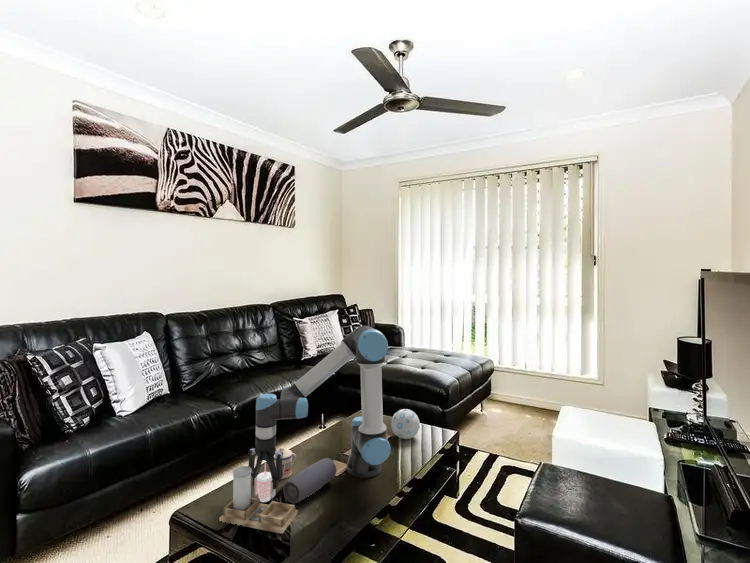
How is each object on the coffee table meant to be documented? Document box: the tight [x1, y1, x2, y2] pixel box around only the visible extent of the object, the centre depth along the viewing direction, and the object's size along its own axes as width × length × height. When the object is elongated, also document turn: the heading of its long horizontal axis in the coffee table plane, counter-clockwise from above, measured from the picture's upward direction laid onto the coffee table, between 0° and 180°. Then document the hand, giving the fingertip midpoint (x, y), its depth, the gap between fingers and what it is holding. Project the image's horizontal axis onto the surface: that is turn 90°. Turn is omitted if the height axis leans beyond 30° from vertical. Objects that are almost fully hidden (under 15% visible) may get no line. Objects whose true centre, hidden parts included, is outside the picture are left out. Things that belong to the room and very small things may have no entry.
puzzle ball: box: [390, 408, 421, 440], centre depth 217 cm, size 15×15×15 cm
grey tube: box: [232, 465, 252, 511], centre depth 147 cm, size 7×7×15 cm
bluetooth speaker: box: [282, 457, 337, 505], centre depth 162 cm, size 23×9×10 cm, turn 149°
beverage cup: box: [257, 461, 272, 503], centre depth 157 cm, size 6×6×14 cm
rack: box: [218, 497, 299, 535], centre depth 145 cm, size 24×12×4 cm, turn 76°
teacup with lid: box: [274, 446, 297, 480], centre depth 177 cm, size 12×9×12 cm
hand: (264, 495), depth 157 cm, fingers closed on beverage cup, 6 cm apart
